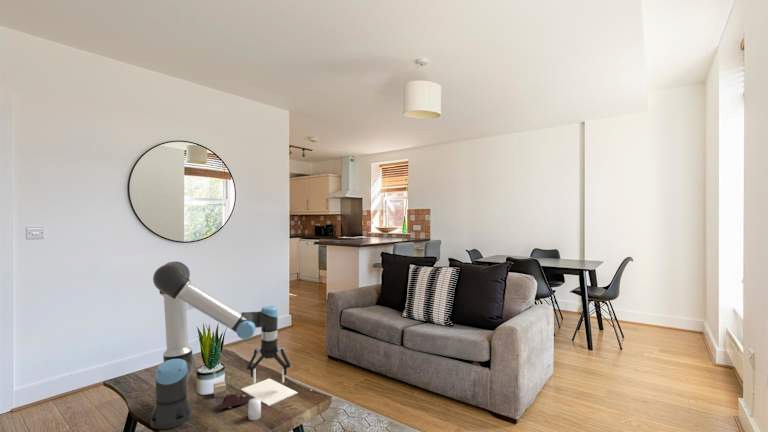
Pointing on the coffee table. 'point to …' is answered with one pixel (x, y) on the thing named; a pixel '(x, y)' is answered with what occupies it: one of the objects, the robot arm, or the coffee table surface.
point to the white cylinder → (254, 409)
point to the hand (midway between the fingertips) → (268, 382)
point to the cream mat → (269, 391)
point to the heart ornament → (234, 400)
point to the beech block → (219, 389)
